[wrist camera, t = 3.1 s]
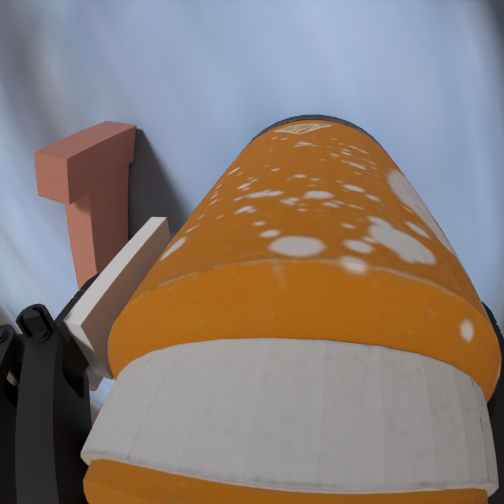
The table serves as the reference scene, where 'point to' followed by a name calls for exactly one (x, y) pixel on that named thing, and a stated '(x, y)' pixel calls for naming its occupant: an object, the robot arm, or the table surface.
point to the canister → (301, 343)
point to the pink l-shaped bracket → (90, 191)
